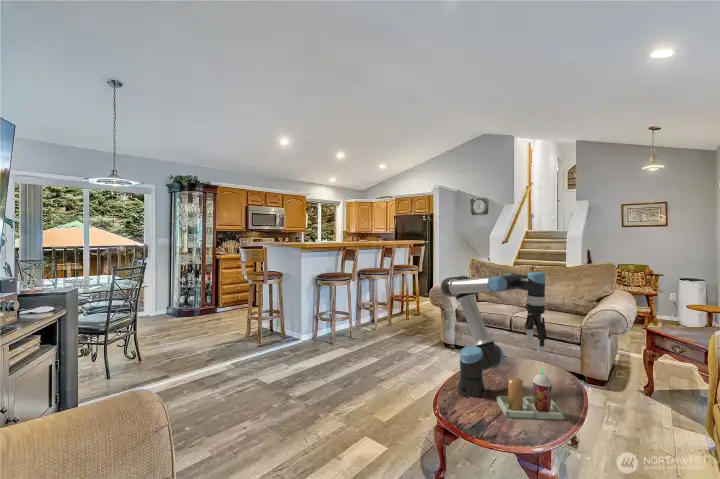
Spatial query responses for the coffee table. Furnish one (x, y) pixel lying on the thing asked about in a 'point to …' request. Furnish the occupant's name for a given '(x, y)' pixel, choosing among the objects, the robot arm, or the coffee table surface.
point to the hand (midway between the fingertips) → (535, 347)
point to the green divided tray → (530, 409)
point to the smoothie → (542, 392)
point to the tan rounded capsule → (515, 394)
